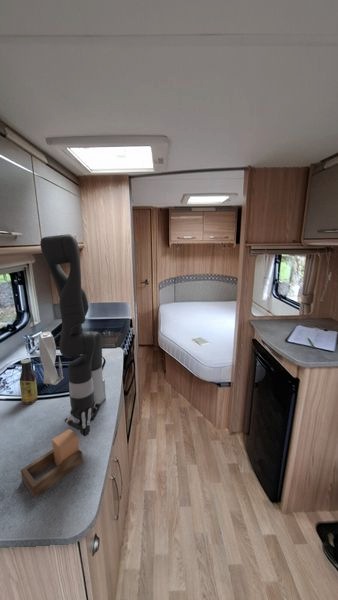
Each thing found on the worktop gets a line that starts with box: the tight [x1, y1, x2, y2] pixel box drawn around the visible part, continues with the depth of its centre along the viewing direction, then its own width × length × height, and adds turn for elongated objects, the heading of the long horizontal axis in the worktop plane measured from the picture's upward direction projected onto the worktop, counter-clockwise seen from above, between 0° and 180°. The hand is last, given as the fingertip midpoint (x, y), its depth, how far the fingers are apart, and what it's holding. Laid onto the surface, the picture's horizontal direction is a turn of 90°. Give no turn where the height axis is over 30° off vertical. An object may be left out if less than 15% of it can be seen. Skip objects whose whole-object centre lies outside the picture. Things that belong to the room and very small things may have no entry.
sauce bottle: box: [19, 358, 38, 405], centre depth 109 cm, size 6×6×20 cm
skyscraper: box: [38, 331, 65, 386], centre depth 123 cm, size 8×8×28 cm
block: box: [51, 428, 80, 467], centre depth 80 cm, size 6×5×9 cm
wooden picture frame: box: [20, 448, 84, 499], centre depth 77 cm, size 15×8×4 cm, turn 142°
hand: (85, 434), depth 85 cm, fingers closed
